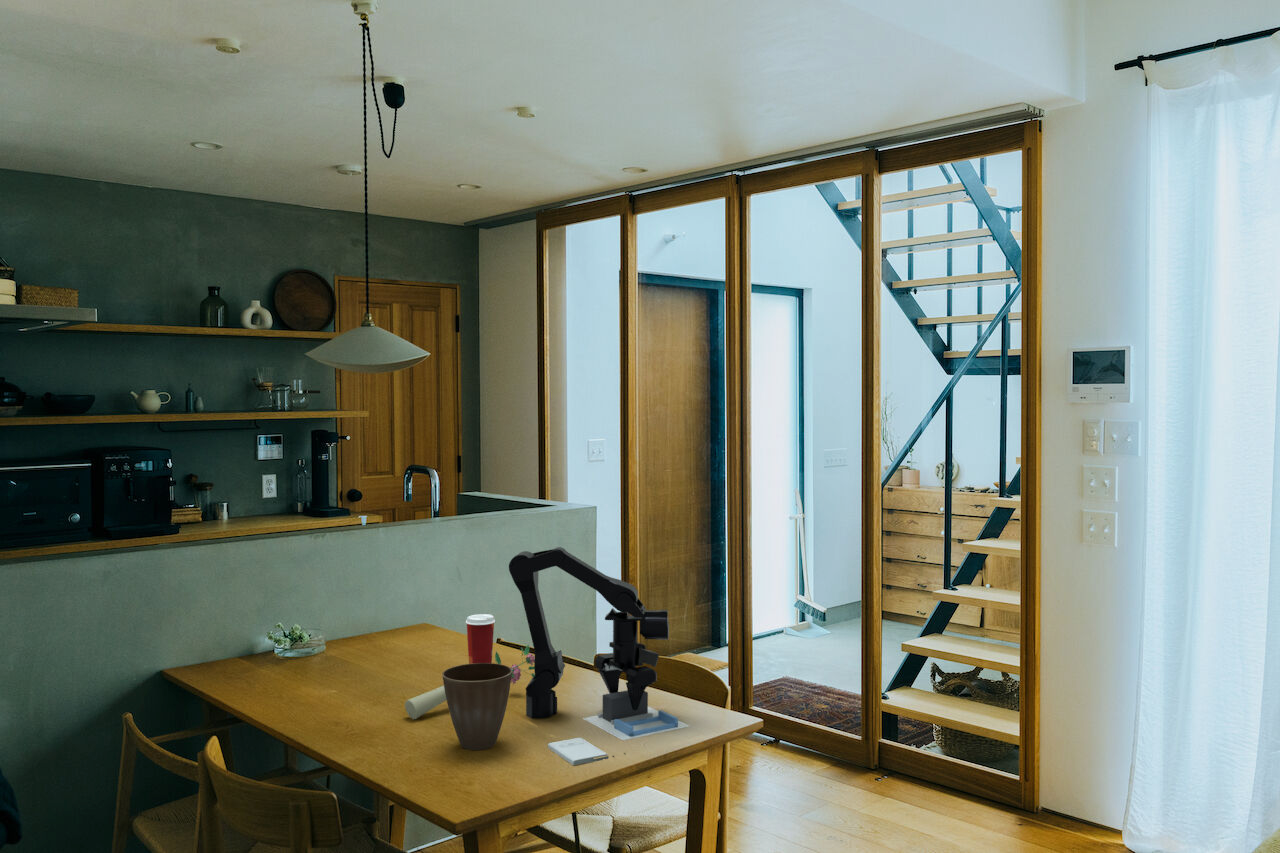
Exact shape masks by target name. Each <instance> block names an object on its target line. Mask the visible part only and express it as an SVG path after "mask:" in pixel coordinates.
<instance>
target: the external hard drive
mask: <svg viewBox="0 0 1280 853" xmlns="http://www.w3.org/2000/svg"><path fill="white" fill-rule="evenodd" d="M547 748H548V749H549V750H550V751H552V752H553V753H555V754H556V755H558V756H559V757H560V758H562V759H563V760H565V761H566V762H567V761H568V762H567V763H569V764H570V763H571V764H570V765H571V766H573V765H575V766H579V765H578V764H580V765H584V764H583V763H585V764H590V763H593V762H598V761H604V760H603V759H605V760H609V756H608V755H609V754H608V753H607V752H605V751H604V750H602V749H600V748H599V747H596V745H594V744H592V743H590V742H588V741H587V740H585V739H584V738H582V737H576V738H575V737H574V738H570V739H564V740H559V741H554V742H549V743H548V744H547Z"/></svg>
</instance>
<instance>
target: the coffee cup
mask: <svg viewBox="0 0 1280 853" xmlns="http://www.w3.org/2000/svg"><path fill="white" fill-rule="evenodd" d="M495 623H496V620H495V617H494V616H493V615H492V614H486V613H485V614H484V613H478V614H472V615H469V616H467V618H466V620H465V624H466V632H467V633H466V634H467V635H466V637H467V653H468V655H467V656H468V664H472V663H493V662H492V660H493V649H494V648H493V647H494V631H495V630H494V629H495Z"/></svg>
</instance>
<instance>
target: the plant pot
mask: <svg viewBox="0 0 1280 853" xmlns="http://www.w3.org/2000/svg"><path fill="white" fill-rule="evenodd" d="M510 667H511V666H510ZM510 667H509V666H508V665H505V664H502V663H501V664H498V663H493V662H492V663H472V664H469V663H465V664H459V665H455V666H452V667H449V668H447V669H445V670H444V671H443V672H442V682H443V685H444V689H445V695H446V699H447V700H446V703H447V707H448V710H449V716H450V718H451V722H452V725H453V728H454V731H455V733H456V737H457V739H458V741H459V744H460V747H461V748H463V749H464V750H468V751H482V750H486V749H490V748H493V747H494V746H495V745H496V744H497V740H498V736H499V735H500V732H501V731H500V730H502V729H501V728H502V726H503V721H504V717H505V715H506V714H505V713H506V712H507V711H506V710H507V706H508V701H509V696H510V690H511V684H512V683H511V676H512V669H511V668H510Z"/></svg>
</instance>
